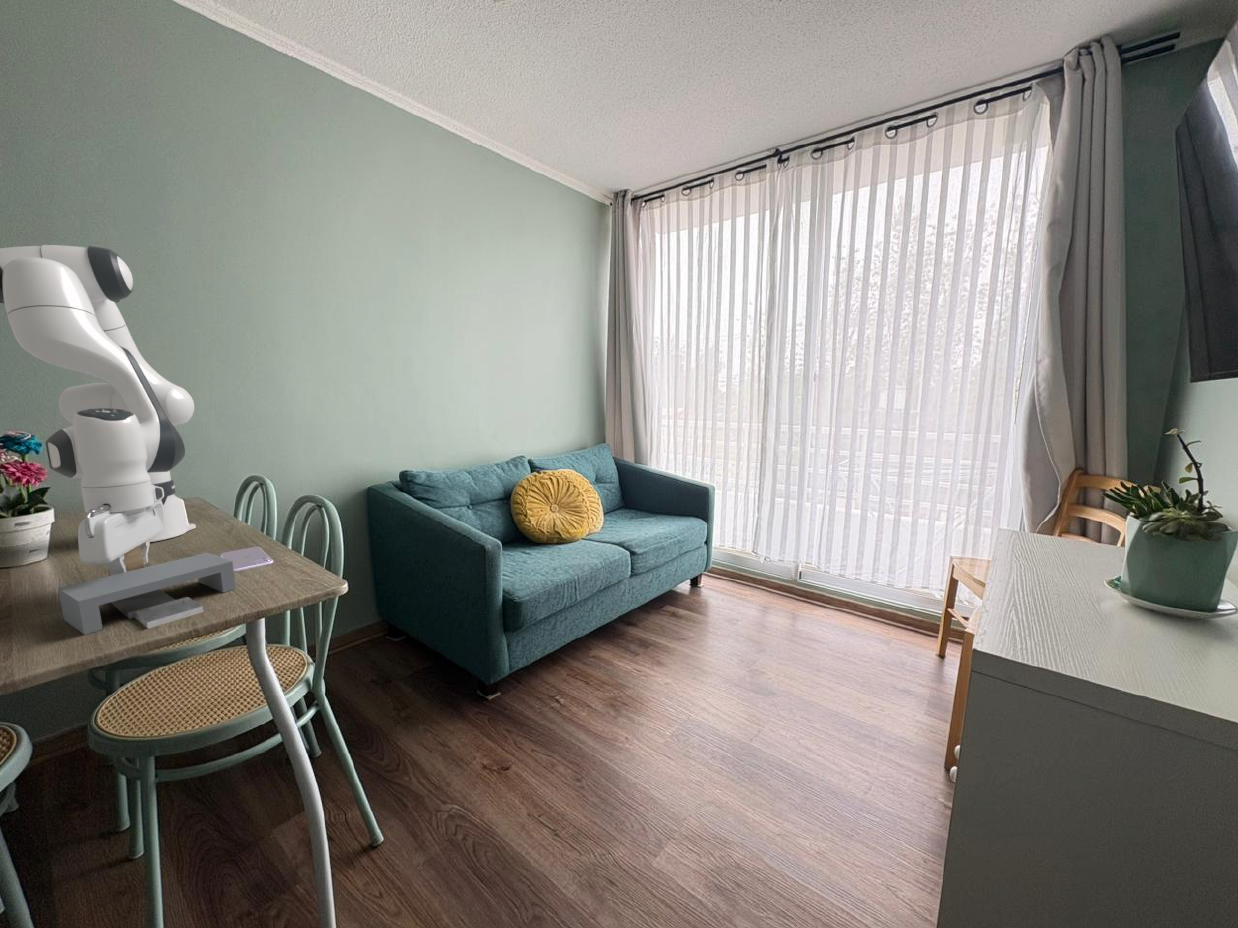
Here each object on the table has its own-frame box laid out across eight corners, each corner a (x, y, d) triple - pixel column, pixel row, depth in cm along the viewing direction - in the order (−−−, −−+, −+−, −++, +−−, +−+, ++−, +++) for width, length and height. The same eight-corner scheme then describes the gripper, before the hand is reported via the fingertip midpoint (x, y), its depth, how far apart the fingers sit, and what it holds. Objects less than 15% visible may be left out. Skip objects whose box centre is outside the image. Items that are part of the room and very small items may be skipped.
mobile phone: (259, 544, 116) (274, 560, 105) (259, 548, 116) (275, 564, 106) (218, 552, 110) (230, 569, 100) (219, 556, 110) (231, 573, 100)
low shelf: (63, 619, 79) (58, 588, 78) (211, 578, 97) (208, 552, 96) (84, 634, 74) (78, 601, 74) (235, 588, 92) (232, 561, 91)
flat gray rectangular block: (135, 620, 80) (133, 611, 80) (189, 604, 86) (187, 596, 86) (148, 631, 77) (146, 622, 76) (203, 614, 82) (202, 606, 82)
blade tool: (103, 596, 88) (95, 549, 87) (148, 585, 93) (141, 540, 92) (129, 618, 80) (120, 567, 78) (176, 605, 85) (169, 556, 83)
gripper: (110, 510, 79) (122, 589, 81) (167, 487, 98) (176, 552, 100) (57, 514, 77) (72, 595, 79) (126, 489, 95) (137, 556, 97)
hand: (131, 571), depth 89 cm, fingers open, 5 cm apart
